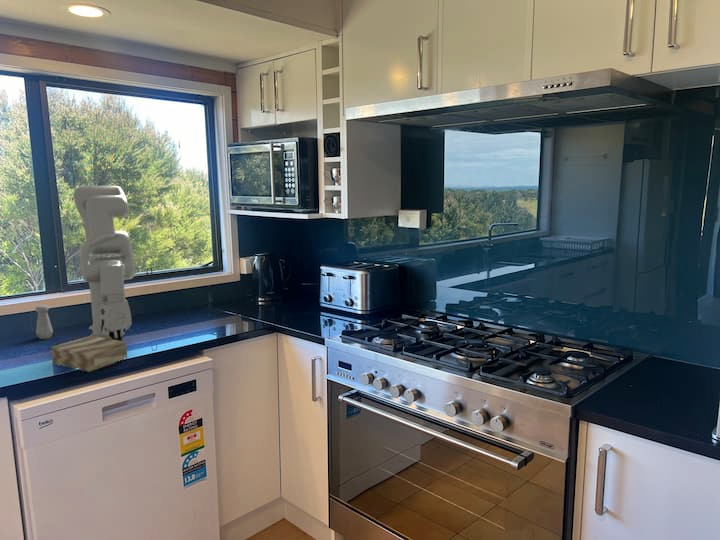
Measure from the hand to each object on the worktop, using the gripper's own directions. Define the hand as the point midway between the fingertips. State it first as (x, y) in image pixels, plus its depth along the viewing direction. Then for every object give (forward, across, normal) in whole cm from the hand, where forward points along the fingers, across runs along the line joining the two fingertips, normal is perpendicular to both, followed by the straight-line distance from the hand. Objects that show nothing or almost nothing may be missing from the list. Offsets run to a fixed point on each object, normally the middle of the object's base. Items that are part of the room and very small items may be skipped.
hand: (117, 347), depth 193 cm
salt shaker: (+2, +1, +42) cm, 42 cm away
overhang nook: (+2, -11, 0) cm, 11 cm away
